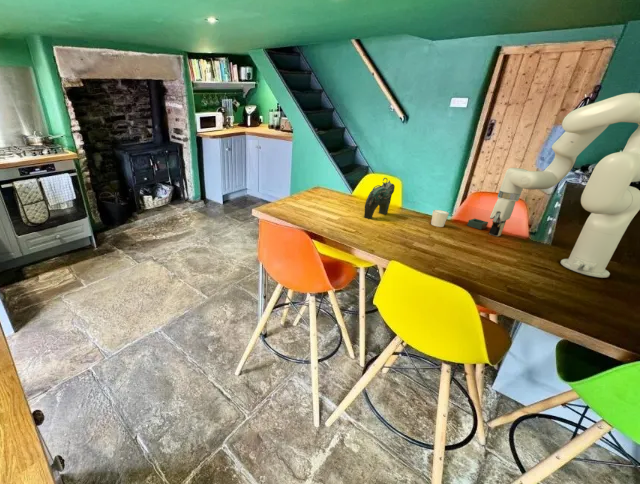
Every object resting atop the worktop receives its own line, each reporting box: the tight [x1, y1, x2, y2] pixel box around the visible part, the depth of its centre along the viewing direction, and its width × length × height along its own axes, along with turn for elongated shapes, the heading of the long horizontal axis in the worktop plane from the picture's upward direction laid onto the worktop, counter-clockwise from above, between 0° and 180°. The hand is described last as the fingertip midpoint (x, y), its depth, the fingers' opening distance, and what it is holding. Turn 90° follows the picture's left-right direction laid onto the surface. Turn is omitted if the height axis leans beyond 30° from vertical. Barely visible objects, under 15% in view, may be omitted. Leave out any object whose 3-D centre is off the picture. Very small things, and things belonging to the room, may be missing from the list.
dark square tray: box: [466, 218, 489, 230], centre depth 150 cm, size 6×6×3 cm
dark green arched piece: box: [363, 177, 395, 220], centre depth 155 cm, size 20×6×20 cm, turn 128°
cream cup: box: [430, 209, 450, 228], centre depth 149 cm, size 7×7×7 cm
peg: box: [489, 222, 506, 237], centre depth 140 cm, size 3×3×6 cm
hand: (495, 233), depth 141 cm, fingers closed on peg, 3 cm apart
